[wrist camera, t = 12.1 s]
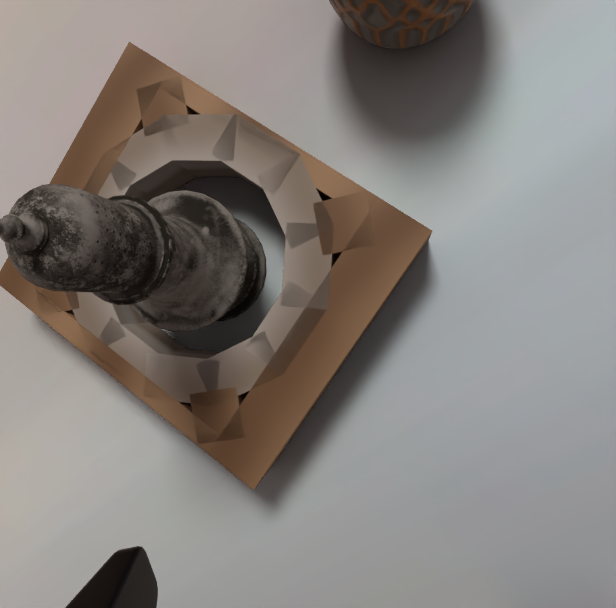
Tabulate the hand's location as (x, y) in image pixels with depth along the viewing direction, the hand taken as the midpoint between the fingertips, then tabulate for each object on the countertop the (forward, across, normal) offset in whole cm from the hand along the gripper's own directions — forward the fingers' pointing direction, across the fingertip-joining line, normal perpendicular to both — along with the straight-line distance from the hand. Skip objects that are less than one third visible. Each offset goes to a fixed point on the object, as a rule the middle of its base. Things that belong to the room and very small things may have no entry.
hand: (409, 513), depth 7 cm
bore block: (+16, +5, -2) cm, 17 cm away
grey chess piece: (+16, +5, -1) cm, 17 cm away
